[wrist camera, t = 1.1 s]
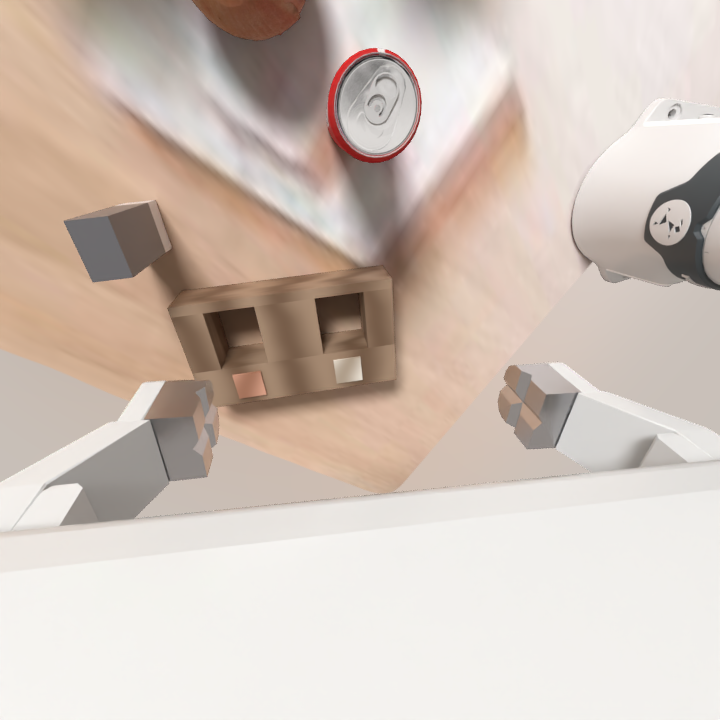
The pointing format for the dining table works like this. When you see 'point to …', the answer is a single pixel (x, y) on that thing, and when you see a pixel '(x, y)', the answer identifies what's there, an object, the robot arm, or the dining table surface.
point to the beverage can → (374, 105)
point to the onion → (252, 16)
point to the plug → (119, 239)
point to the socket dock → (288, 336)
